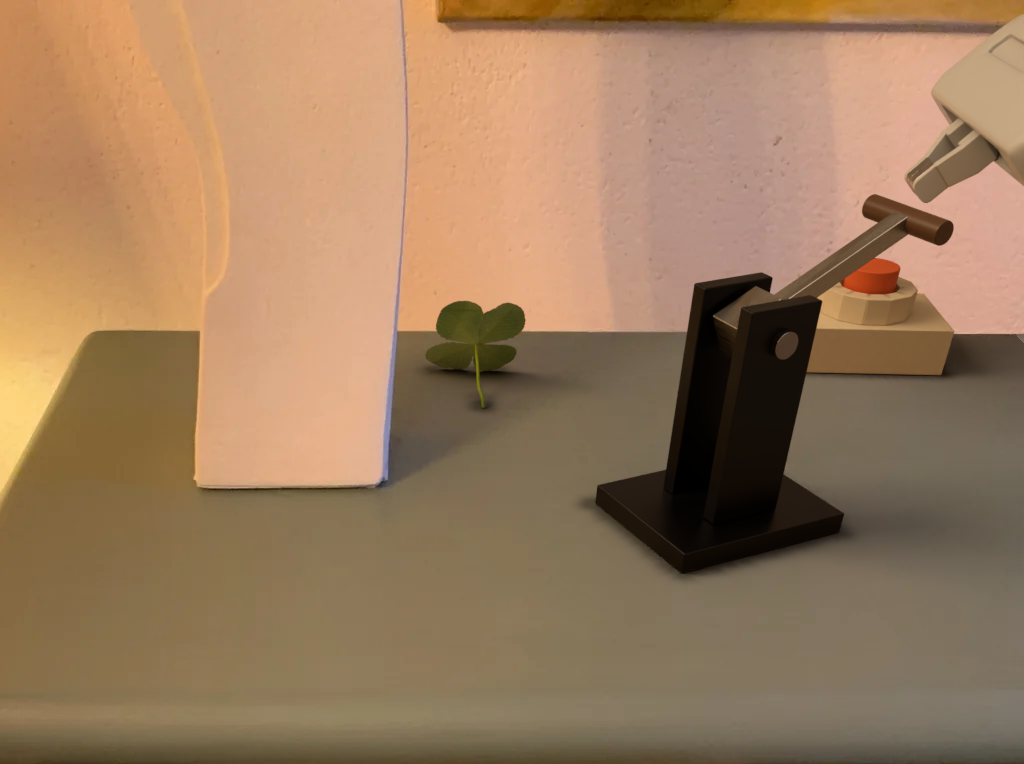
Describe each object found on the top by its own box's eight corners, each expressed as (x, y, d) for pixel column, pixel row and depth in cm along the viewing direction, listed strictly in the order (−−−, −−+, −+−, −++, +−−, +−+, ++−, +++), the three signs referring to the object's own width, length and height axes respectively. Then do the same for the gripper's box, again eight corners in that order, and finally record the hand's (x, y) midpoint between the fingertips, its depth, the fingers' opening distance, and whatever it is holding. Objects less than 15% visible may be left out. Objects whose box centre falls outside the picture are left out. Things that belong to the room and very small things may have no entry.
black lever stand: (744, 468, 73) (787, 253, 64) (839, 532, 66) (901, 303, 58) (594, 503, 69) (619, 280, 60) (681, 573, 63) (722, 336, 54)
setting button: (887, 282, 85) (893, 257, 84) (899, 299, 83) (906, 273, 81) (838, 281, 85) (843, 256, 84) (849, 298, 83) (855, 272, 82)
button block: (912, 335, 90) (931, 268, 87) (941, 375, 84) (963, 304, 81) (770, 332, 90) (783, 265, 87) (789, 372, 84) (804, 301, 81)
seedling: (468, 456, 85) (463, 381, 87) (556, 408, 80) (548, 329, 82) (402, 416, 80) (397, 336, 82) (491, 361, 75) (484, 278, 77)
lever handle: (881, 220, 63) (877, 178, 61) (955, 248, 60) (953, 204, 58) (702, 344, 63) (693, 305, 61) (765, 379, 59) (757, 340, 58)
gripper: (1035, -36, 80) (857, 121, 87) (1154, 7, 65) (926, 193, 72) (1077, 41, 83) (901, 187, 90) (1199, 99, 68) (976, 270, 75)
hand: (913, 190), depth 81 cm, fingers closed
